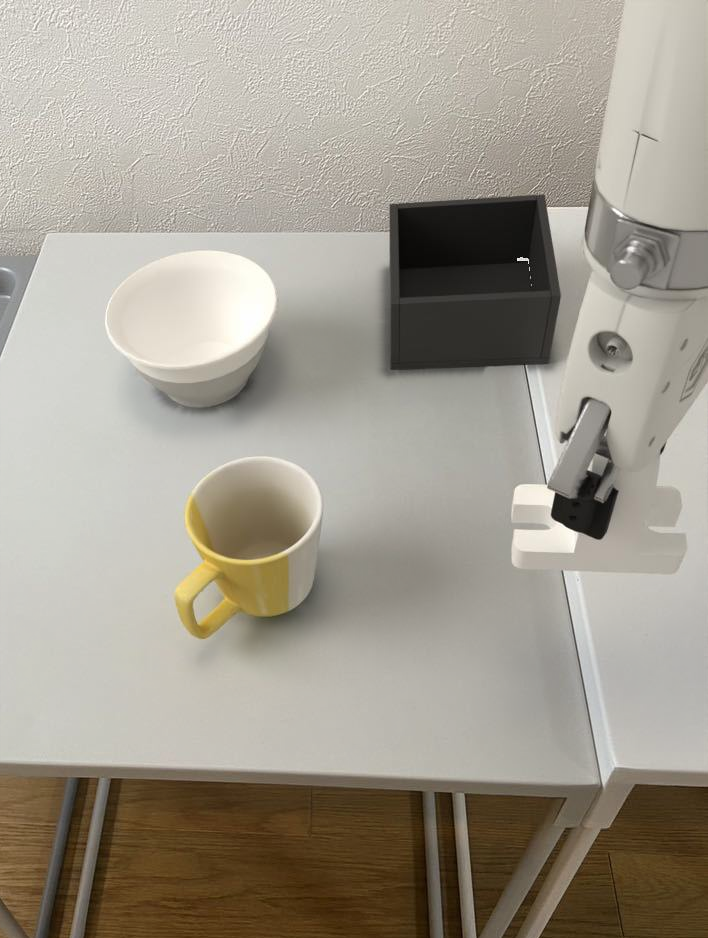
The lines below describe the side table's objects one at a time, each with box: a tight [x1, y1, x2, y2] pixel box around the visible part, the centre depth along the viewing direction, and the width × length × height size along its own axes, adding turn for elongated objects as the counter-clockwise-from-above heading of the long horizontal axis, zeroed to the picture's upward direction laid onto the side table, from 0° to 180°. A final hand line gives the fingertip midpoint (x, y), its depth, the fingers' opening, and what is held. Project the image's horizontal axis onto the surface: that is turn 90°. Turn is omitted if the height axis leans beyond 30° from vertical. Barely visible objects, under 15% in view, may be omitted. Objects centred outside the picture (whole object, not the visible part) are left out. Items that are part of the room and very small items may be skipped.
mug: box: [173, 455, 324, 640], centre depth 72 cm, size 14×10×10 cm
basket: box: [388, 194, 562, 370], centre depth 89 cm, size 15×15×8 cm
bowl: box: [104, 249, 279, 408], centre depth 88 cm, size 16×16×9 cm
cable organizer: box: [510, 430, 688, 575], centre depth 55 cm, size 5×10×10 cm, turn 82°
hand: (607, 484), depth 55 cm, fingers closed on cable organizer, 6 cm apart
